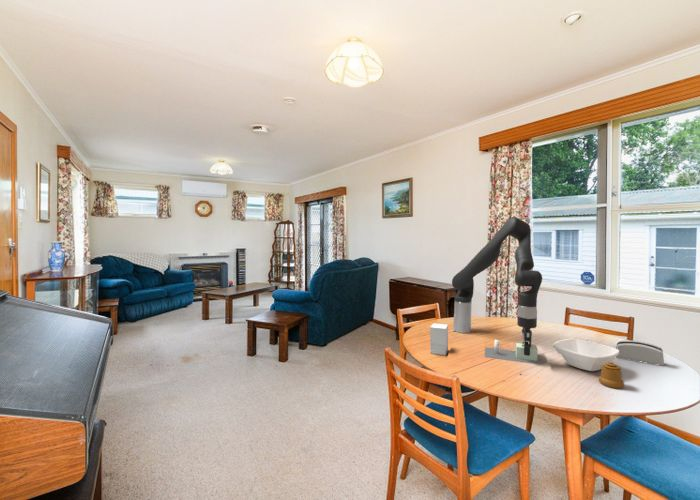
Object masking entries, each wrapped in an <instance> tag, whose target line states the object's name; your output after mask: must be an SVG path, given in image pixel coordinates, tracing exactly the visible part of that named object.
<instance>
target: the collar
mask: <svg viewBox="0 0 700 500" xmlns="http://www.w3.org/2000/svg"><path fill="white" fill-rule="evenodd" d="M515 351H516V358H519V359H526V360H534V361H537V354H538V353H539V352H538V346H537V345H535V344H531V347H530V355H529V356H527V355H524V344H523V343H520V342H515ZM538 355H539V354H538Z"/></svg>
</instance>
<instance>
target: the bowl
mask: <svg viewBox="0 0 700 500" xmlns="http://www.w3.org/2000/svg"><path fill="white" fill-rule="evenodd" d="M552 347H553V349H555V351H556V352H557V353H558V354H559V355H561V356H562V358H563V360H564V361H565V362H566V364H568V365H569V366H572V367H575V368H578V369H581V370H585V371H588V372H595V371H600V370H602V365H604V364H607V363H611V362H612V361H613V360H615V357H616V356H617V355H618V354H619V350H618V349H616V347H611V346H608V345H606V344H602V343H598V342H594V341H589V340H585V339H581V338H566V339H560V340H556V341H555V342H554V343H553V344H552Z"/></svg>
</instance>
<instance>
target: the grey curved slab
mask: <svg viewBox="0 0 700 500" xmlns="http://www.w3.org/2000/svg"><path fill="white" fill-rule="evenodd" d="M615 349H618V350H619V354H618V355H617V356H616V357H618V358H617V359H621V358H623V359H622V360H627V359H630V360H629V361H632V360H636V361H635V362H638V361H642V362H641V363H644V362H647V363H646V364H649V363H652V364H651V365H655V364H659V365H658V366H660V365H664V366H665V359H664V358H665V357H664V351H663V349H662V347H660V346H658V345H655V344H653V343H649V342H645V341H641V340H640V341H639V340H629V339H627V340H618V341H617V344H616V347H615Z"/></svg>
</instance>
